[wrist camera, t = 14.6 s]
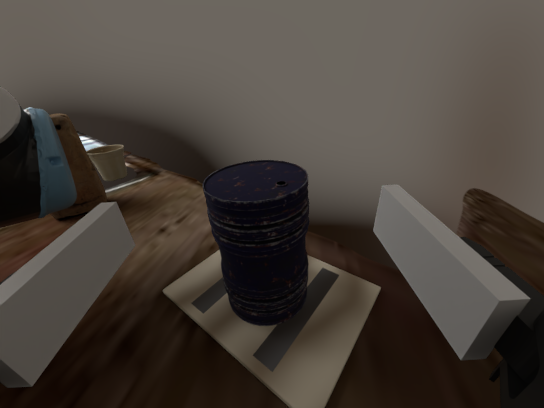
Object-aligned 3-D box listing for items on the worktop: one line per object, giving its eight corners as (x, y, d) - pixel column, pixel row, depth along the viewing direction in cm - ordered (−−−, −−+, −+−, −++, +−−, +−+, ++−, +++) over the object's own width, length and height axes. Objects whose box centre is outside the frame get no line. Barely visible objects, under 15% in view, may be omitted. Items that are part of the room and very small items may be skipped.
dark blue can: (210, 299, 28) (178, 186, 21) (260, 252, 35) (249, 155, 28) (278, 345, 23) (266, 215, 16) (322, 280, 30) (328, 168, 22)
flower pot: (135, 169, 75) (125, 142, 71) (132, 179, 68) (120, 150, 63) (102, 175, 73) (89, 147, 68) (94, 186, 65) (80, 156, 61)
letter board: (163, 293, 30) (162, 290, 30) (248, 232, 41) (248, 229, 41) (314, 430, 18) (314, 426, 17) (380, 290, 28) (380, 287, 28)
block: (106, 196, 58) (67, 110, 49) (112, 206, 53) (70, 113, 44) (51, 213, 52) (-6, 119, 43) (52, 226, 47) (-12, 123, 38)
